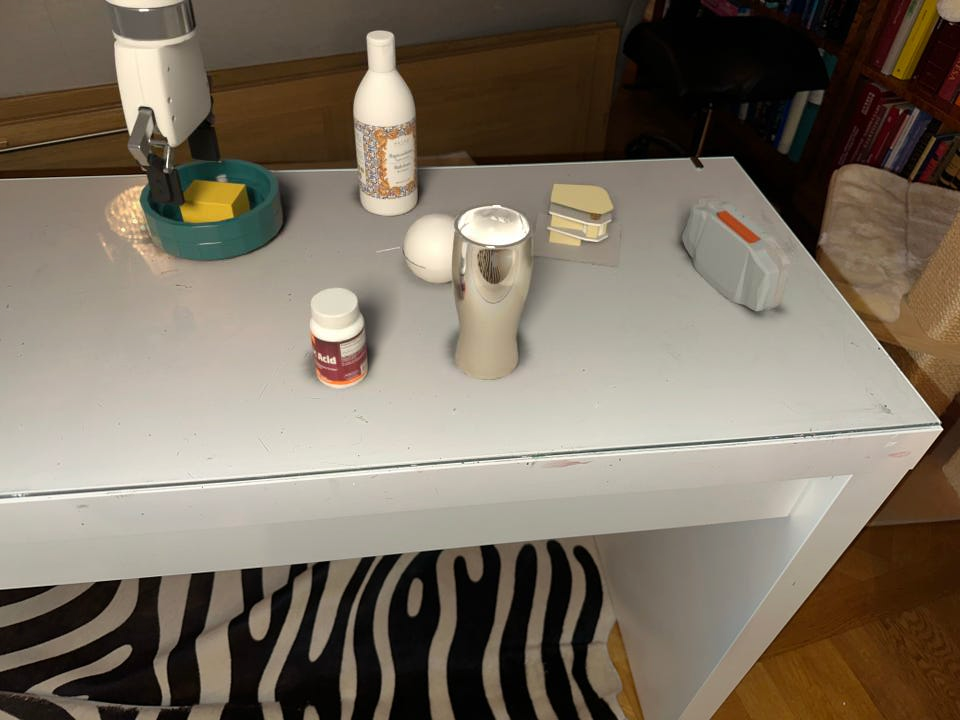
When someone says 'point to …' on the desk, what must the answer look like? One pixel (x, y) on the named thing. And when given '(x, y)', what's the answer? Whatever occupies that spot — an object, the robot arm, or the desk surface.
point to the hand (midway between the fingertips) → (188, 180)
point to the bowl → (220, 235)
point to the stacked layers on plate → (578, 226)
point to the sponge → (214, 201)
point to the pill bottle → (338, 338)
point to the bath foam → (385, 132)
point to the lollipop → (430, 247)
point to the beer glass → (490, 286)
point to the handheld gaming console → (736, 255)
